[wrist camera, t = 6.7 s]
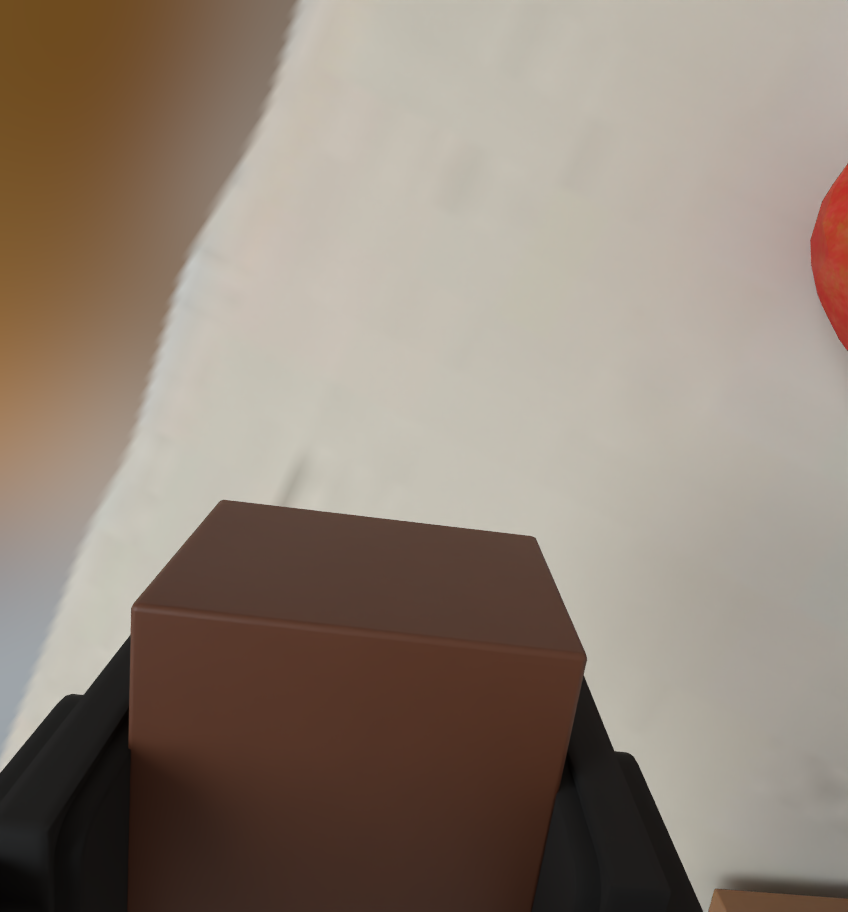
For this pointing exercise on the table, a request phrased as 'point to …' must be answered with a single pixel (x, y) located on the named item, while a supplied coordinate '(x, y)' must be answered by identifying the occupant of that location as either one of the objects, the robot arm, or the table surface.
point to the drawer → (773, 902)
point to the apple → (833, 255)
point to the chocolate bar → (346, 717)
